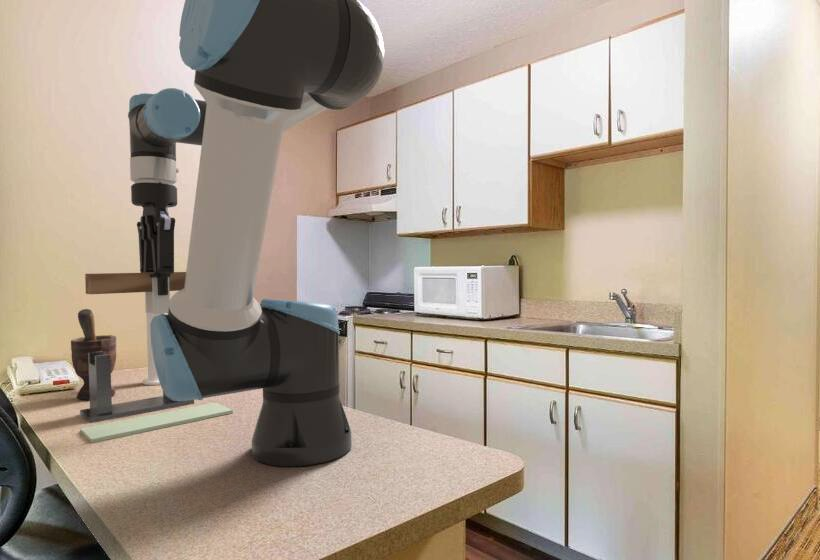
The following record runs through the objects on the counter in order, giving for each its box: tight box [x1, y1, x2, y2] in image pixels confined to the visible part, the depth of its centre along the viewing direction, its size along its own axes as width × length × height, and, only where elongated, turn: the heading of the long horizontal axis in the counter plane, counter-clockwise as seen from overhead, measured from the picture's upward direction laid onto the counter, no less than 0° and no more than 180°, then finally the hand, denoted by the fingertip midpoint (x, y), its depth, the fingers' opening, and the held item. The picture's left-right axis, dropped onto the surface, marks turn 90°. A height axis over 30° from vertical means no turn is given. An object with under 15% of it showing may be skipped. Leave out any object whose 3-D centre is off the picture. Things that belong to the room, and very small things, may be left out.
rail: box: [84, 271, 186, 295], centre depth 96 cm, size 3×22×3 cm, turn 133°
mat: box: [79, 402, 234, 444], centre depth 97 cm, size 8×24×1 cm, turn 133°
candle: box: [142, 312, 168, 386], centre depth 130 cm, size 7×7×25 cm
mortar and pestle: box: [70, 308, 117, 401], centre depth 115 cm, size 12×9×20 cm
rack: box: [79, 351, 195, 424], centre depth 106 cm, size 8×19×12 cm, turn 133°
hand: (157, 312), depth 96 cm, fingers closed on rail, 3 cm apart
